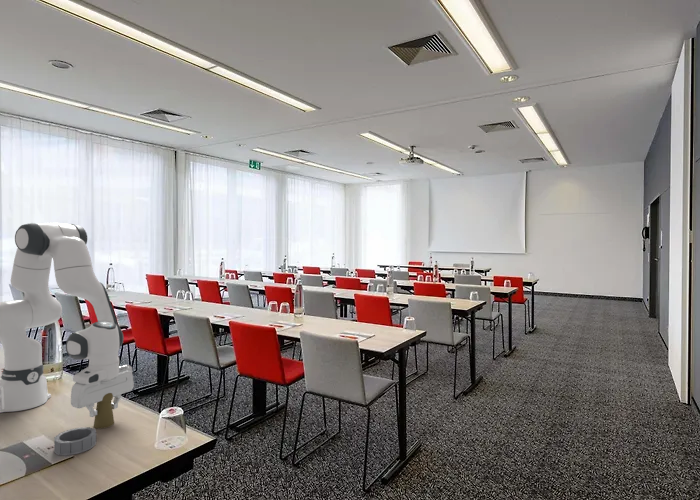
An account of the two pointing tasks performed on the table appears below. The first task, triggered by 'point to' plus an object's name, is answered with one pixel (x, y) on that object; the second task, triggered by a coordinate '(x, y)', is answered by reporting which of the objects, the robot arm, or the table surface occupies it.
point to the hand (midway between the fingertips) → (104, 412)
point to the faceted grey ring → (75, 441)
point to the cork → (104, 412)
